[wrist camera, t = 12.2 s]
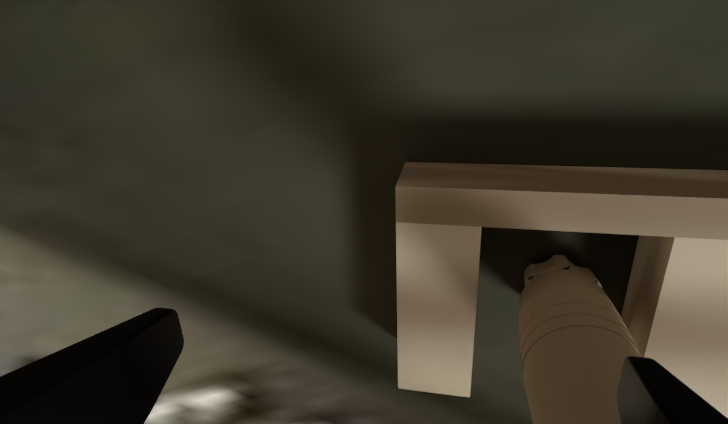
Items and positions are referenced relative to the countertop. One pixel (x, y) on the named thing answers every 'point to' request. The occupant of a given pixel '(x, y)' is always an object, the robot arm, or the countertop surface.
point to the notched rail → (573, 214)
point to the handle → (570, 345)
